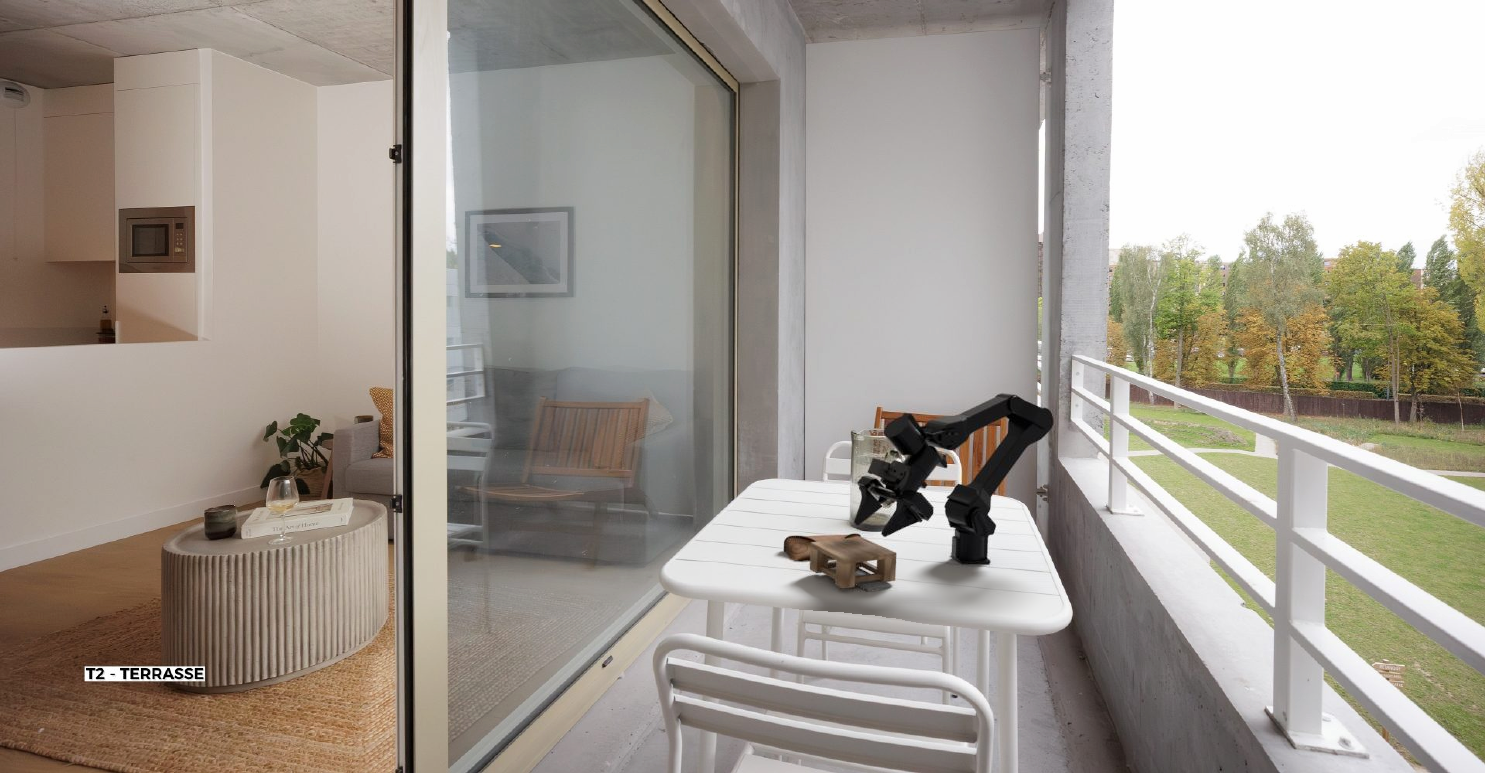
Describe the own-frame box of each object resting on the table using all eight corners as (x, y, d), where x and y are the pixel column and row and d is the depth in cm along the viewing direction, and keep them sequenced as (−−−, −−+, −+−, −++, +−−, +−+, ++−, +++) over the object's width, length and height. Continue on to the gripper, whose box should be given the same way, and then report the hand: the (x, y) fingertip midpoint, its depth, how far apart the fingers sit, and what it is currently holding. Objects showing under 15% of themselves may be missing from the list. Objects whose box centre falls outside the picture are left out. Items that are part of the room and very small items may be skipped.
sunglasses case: (792, 561, 163) (788, 530, 166) (785, 569, 169) (781, 539, 172) (873, 557, 166) (869, 527, 169) (864, 565, 173) (859, 535, 175)
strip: (848, 566, 161) (848, 562, 161) (889, 587, 148) (890, 583, 148) (828, 569, 158) (828, 565, 158) (868, 591, 146) (868, 587, 146)
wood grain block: (860, 536, 160) (810, 542, 155) (896, 552, 149) (844, 559, 144) (859, 562, 161) (809, 569, 155) (895, 580, 150) (843, 588, 145)
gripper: (865, 437, 163) (819, 494, 159) (923, 451, 146) (873, 515, 142) (895, 471, 167) (851, 527, 163) (954, 488, 150) (907, 551, 146)
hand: (868, 529), depth 153 cm, fingers open, 9 cm apart
